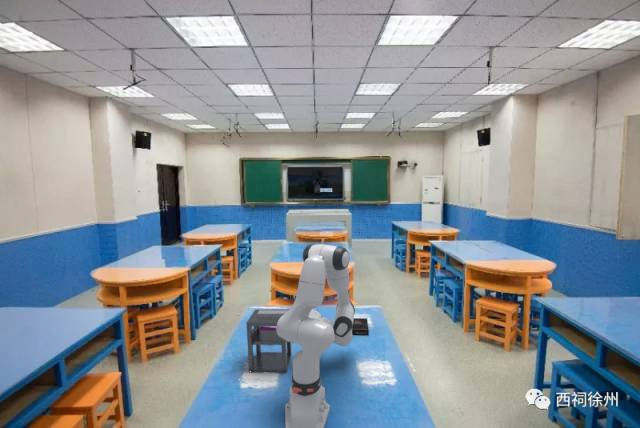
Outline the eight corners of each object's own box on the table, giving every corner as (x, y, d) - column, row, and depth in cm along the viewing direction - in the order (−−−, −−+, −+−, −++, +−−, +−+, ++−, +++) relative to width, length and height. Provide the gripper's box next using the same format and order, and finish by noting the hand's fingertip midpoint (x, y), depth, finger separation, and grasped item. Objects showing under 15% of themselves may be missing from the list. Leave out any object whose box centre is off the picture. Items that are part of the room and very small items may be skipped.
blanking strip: (304, 317, 157) (304, 313, 157) (257, 317, 159) (257, 313, 159) (305, 314, 161) (304, 310, 161) (259, 314, 163) (259, 310, 163)
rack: (287, 372, 154) (285, 322, 152) (249, 372, 156) (246, 322, 153) (292, 355, 170) (290, 309, 168) (257, 354, 172) (255, 309, 169)
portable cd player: (367, 323, 206) (367, 317, 206) (368, 336, 189) (368, 330, 189) (342, 323, 208) (342, 317, 208) (341, 335, 191) (341, 329, 191)
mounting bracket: (269, 340, 199) (257, 341, 182) (271, 326, 202) (259, 326, 185) (283, 342, 196) (272, 343, 180) (285, 328, 199) (274, 327, 183)
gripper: (325, 312, 169) (303, 300, 169) (323, 330, 149) (298, 316, 149) (320, 321, 170) (298, 309, 170) (317, 340, 150) (292, 327, 150)
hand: (298, 312), depth 159 cm, fingers open, 5 cm apart
